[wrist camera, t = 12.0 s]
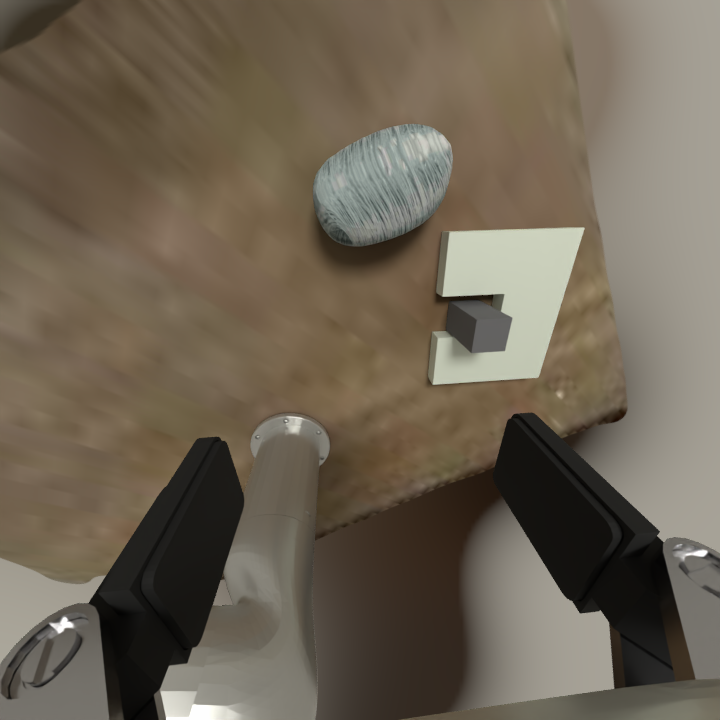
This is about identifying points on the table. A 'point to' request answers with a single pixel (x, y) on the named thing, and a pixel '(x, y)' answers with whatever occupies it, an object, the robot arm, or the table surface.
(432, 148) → the streaked blue-grey ovoid
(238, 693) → the robot arm
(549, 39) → the table surface
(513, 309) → the board
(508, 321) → the gray rectangular block
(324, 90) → the table surface
